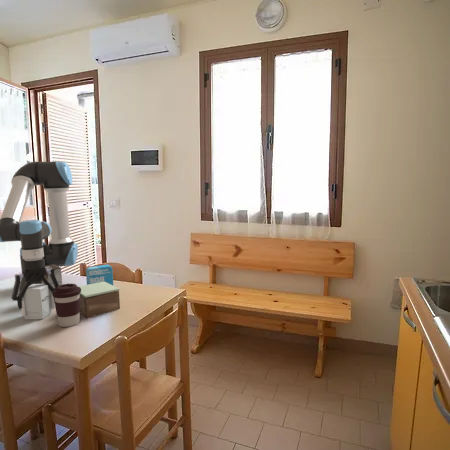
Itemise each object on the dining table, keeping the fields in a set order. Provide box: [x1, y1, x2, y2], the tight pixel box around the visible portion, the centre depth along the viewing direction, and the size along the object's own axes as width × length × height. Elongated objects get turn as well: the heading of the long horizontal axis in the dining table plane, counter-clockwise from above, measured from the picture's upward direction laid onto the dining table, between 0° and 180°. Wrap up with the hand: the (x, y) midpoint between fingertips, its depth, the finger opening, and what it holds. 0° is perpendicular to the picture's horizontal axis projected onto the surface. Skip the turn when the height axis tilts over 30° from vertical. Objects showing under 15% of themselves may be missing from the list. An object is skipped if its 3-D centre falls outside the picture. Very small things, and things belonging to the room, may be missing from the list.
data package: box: [85, 264, 114, 286], centre depth 165 cm, size 12×4×12 cm, turn 122°
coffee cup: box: [52, 283, 81, 328], centre depth 125 cm, size 10×10×15 cm
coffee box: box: [41, 264, 63, 304], centre depth 151 cm, size 9×6×16 cm
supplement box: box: [22, 284, 53, 320], centre depth 133 cm, size 7×7×13 cm
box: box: [80, 290, 121, 319], centre depth 140 cm, size 14×14×8 cm
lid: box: [77, 282, 120, 298], centre depth 139 cm, size 15×14×1 cm
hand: (38, 311), depth 134 cm, fingers closed on supplement box, 10 cm apart
